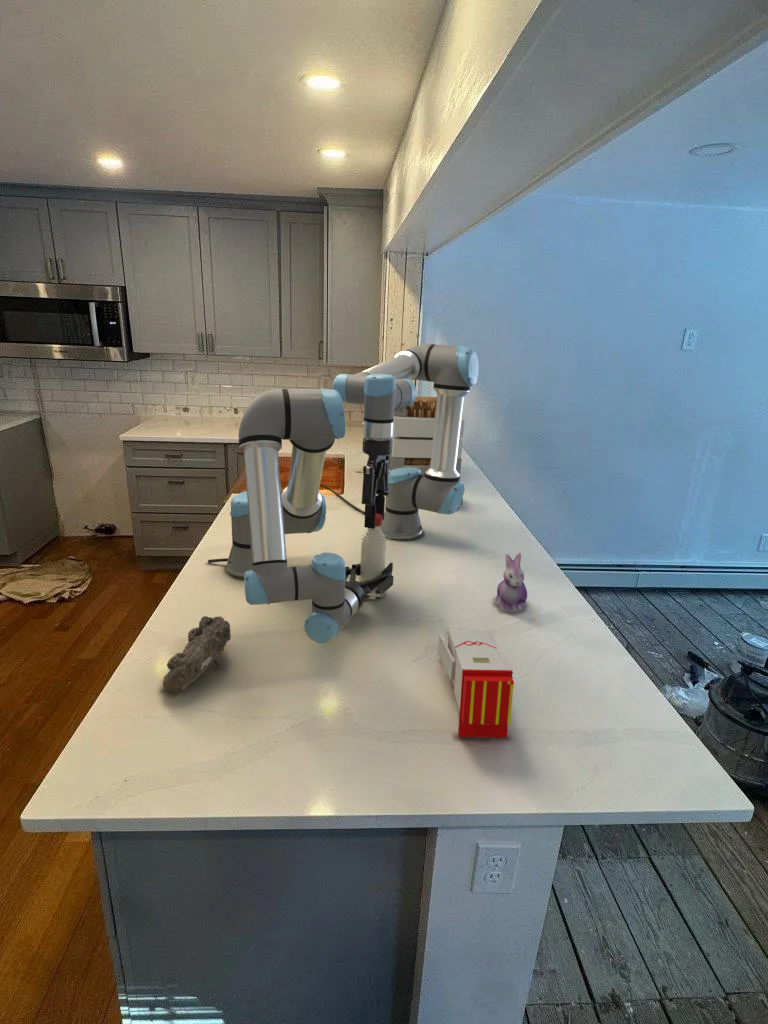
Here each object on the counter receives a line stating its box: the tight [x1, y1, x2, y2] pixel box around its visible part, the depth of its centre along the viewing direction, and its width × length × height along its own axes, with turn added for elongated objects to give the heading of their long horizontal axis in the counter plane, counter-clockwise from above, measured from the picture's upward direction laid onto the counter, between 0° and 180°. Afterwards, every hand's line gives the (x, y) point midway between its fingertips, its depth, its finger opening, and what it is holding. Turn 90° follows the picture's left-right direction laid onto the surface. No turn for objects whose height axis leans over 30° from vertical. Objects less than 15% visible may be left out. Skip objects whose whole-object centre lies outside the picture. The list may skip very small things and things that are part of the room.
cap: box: [375, 513, 382, 527], centre depth 150 cm, size 4×4×2 cm
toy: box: [437, 628, 515, 738], centre depth 117 cm, size 12×13×30 cm
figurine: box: [495, 552, 528, 614], centre depth 152 cm, size 9×10×15 cm
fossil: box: [162, 615, 232, 693], centre depth 122 cm, size 22×10×15 cm
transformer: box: [386, 395, 465, 481], centre depth 268 cm, size 34×33×41 cm
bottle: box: [359, 526, 387, 600], centre depth 154 cm, size 7×7×23 cm
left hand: (379, 564), depth 160 cm, fingers closed on bottle, 7 cm apart
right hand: (374, 523), depth 150 cm, fingers open, 6 cm apart
